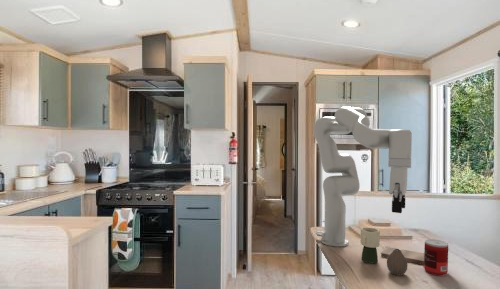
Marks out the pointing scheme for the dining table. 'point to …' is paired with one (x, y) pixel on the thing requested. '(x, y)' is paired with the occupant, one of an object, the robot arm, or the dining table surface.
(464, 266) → the dining table surface
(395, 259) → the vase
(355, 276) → the dining table surface
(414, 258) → the walnut board
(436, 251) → the canned food
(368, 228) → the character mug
